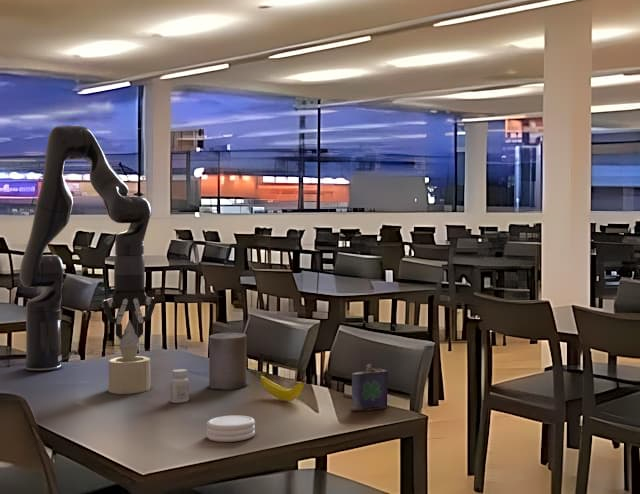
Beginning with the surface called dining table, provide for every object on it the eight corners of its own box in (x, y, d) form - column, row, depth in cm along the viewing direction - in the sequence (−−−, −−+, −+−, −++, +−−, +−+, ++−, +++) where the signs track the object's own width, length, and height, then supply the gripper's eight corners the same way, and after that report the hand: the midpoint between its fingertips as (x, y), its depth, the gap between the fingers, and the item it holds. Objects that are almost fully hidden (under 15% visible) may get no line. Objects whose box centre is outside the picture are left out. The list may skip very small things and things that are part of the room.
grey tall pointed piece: (142, 374, 253) (142, 318, 253) (134, 378, 248) (134, 320, 248) (124, 374, 254) (124, 318, 254) (115, 378, 249) (115, 320, 249)
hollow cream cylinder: (106, 388, 253) (106, 357, 253) (146, 384, 258) (146, 355, 258) (111, 395, 244) (111, 364, 244) (153, 391, 249) (153, 360, 249)
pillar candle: (242, 381, 262) (242, 327, 262) (249, 388, 254) (250, 331, 254) (205, 384, 258) (205, 329, 258) (212, 391, 250) (212, 333, 249)
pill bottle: (192, 400, 239) (192, 369, 239) (181, 403, 235) (181, 372, 235) (177, 398, 240) (177, 368, 240) (166, 402, 236) (166, 371, 236)
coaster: (241, 428, 211) (241, 412, 211) (263, 437, 203) (263, 420, 203) (198, 435, 204) (198, 419, 204) (219, 445, 196) (219, 428, 196)
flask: (354, 412, 227) (354, 366, 226) (349, 409, 229) (349, 365, 229) (389, 407, 231) (389, 363, 231) (384, 405, 234) (384, 361, 234)
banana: (265, 393, 247) (265, 369, 247) (309, 405, 234) (309, 379, 234) (255, 395, 245) (255, 370, 245) (299, 407, 232) (299, 380, 232)
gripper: (155, 270, 257) (155, 334, 258) (98, 272, 251) (98, 337, 251) (160, 272, 251) (159, 337, 251) (102, 274, 244) (102, 341, 244)
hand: (129, 337), depth 251 cm, fingers closed on grey tall pointed piece, 4 cm apart
